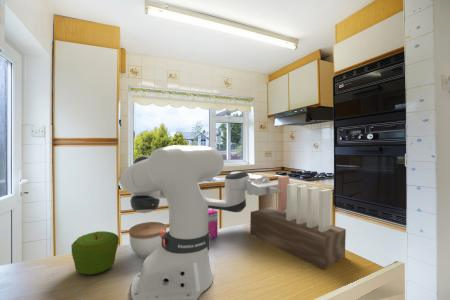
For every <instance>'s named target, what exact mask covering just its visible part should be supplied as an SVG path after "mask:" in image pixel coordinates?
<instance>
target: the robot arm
mask: <svg viewBox="0 0 450 300" xmlns="http://www.w3.org/2000/svg"><path fill="white" fill-rule="evenodd" d="M223 169H224V157H223V155H222V153H221V152H220V151H219V150H218V149H216V148H213V147H211V146H208V145H187V144H186V145H182V144H181V145H180V144H179V145H178V144H177V145H168V146H163V147H159V148H157V149H155V150H153V151H152V152H151V154H150V155H143V156H138V157H137V158H135V159H134V161H133V164H131V165H130V166H128V167H127V168H125V169H124V170H123V172H122V173H121V175H120V182H119V183H120V184H121V187H122V189H123V190H125V191H126V192H127V193H130V207H131V209H132V210H133V211H135V212H138V213H140V214H141V213H142V214H147V213H151V212H153V211H156V210H157V209H158V208H159V206H160V205H159V204H160V199H165V200H166V201H167V206H168V222H169V223H168V227H169V228H168V231H167V229H166V230H162V231H161V232H160V237H161V238H162V246H160V247H159V248H158V249H157V250H155V251H154V252H153V253H152V254H150V255H149V256H148V257H147V258H144V259H145V260H144V261H143V263H142V266H141V269H140V271H139V272H138V273H137V274H136V275H135V276H134V277H133V280H132V282H131V288H130V298H131V300H199V297H200V296H201V294H202V293H203V292H204V291H207V290H208V288H209V287H210V286H211V285H212V284H213V282H214V276H213V271H212V269H211V261H210V254H209V251H210V247H211V240H210V234H209V230H208V208H211V209H214V210H220V211H227V212H229V213H240V212H242V211H243V210H244V209H245V208H246V206H247V198H246V194H247V195H252V196H265V195H269V194H277V195H278V194H279V193H281V189H279V188H278V179H276V180H274V179H273V180H270V179H269V177H268V176H265V175H262V174H261V175H260V174H253V173H250V172H247V171H246V172H245V171H242V170H241V171H240V170H234V171H230V172H228V173H227V174H226V176H225V177H224V178H225V179H224V198H223V199H217V198H210V197H207V196H204V193H203V191H202V190H201V188H200V187H201V186H200V185H199V183H204V182H207V181H210V180H212V179H214V178H216V177H217V176H219V175H220V174H221V173H222V171H223ZM289 184H291V181H289Z"/></svg>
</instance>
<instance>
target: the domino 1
mask: <svg viewBox="0 0 450 300" xmlns="http://www.w3.org/2000/svg"><path fill="white" fill-rule="evenodd" d="M277 180H278V188H279V189H281V193H279V194H278V193H277V208H278V211H280V212H282V211H286V207H287V184H289V182H290V176H289V175H283V176H278V178H277Z"/></svg>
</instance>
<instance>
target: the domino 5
mask: <svg viewBox="0 0 450 300" xmlns="http://www.w3.org/2000/svg"><path fill="white" fill-rule="evenodd" d="M331 211H332V189H331V188H330V189H329V188H325V189H319V222H318V231H320V232H325V231H327V230H329V229H330V225H331V223H332V221H331V219H332V218H331V217H332V216H331V214H332V212H331Z"/></svg>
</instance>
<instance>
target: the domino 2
mask: <svg viewBox="0 0 450 300" xmlns="http://www.w3.org/2000/svg"><path fill="white" fill-rule="evenodd" d="M297 186H299V184H298V183H290V184H287V207H286V210H285V211H286V220H288V221H291V220H295V219H296V209H297Z"/></svg>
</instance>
